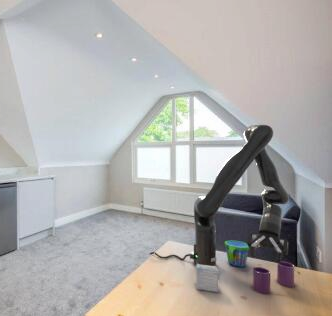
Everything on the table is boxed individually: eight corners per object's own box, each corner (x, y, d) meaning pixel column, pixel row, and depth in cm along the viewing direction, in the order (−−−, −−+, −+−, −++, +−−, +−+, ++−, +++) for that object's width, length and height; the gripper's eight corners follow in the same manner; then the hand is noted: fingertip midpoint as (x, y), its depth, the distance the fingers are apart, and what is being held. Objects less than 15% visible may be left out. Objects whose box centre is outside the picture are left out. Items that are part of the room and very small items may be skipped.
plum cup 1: (251, 290, 98) (251, 270, 98) (255, 284, 102) (255, 265, 102) (268, 295, 94) (268, 274, 94) (271, 289, 98) (271, 270, 98)
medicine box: (216, 287, 101) (216, 266, 101) (218, 293, 96) (218, 271, 96) (196, 284, 103) (195, 263, 103) (196, 289, 99) (196, 268, 99)
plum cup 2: (276, 283, 103) (276, 264, 103) (278, 278, 107) (278, 260, 107) (293, 288, 99) (293, 268, 99) (295, 283, 103) (295, 264, 103)
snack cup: (234, 256, 130) (234, 237, 130) (255, 263, 121) (255, 243, 121) (217, 264, 122) (217, 243, 122) (240, 272, 113) (239, 250, 113)
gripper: (250, 218, 113) (243, 250, 105) (289, 224, 103) (285, 259, 95) (253, 227, 117) (246, 258, 109) (291, 233, 107) (287, 268, 99)
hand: (264, 259), depth 102 cm, fingers open, 8 cm apart
